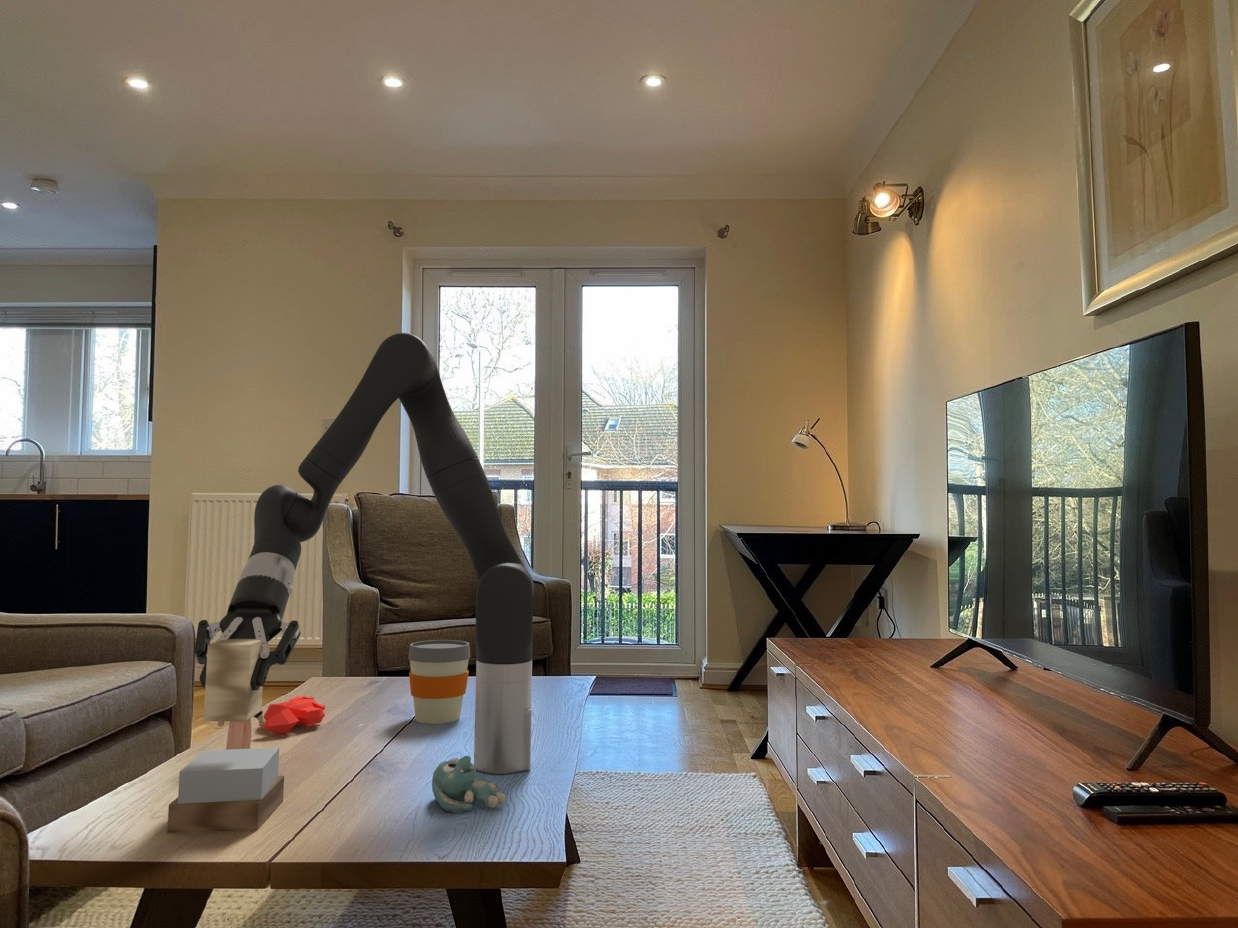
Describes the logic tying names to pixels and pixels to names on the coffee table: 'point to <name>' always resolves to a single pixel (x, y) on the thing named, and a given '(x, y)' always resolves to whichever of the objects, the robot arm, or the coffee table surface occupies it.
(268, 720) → the animal figurine
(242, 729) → the grandmother figurine
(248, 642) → the oak block
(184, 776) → the tower top
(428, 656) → the reusable coffee cup
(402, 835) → the coffee table surface
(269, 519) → the robot arm
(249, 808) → the tower base
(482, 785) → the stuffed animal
